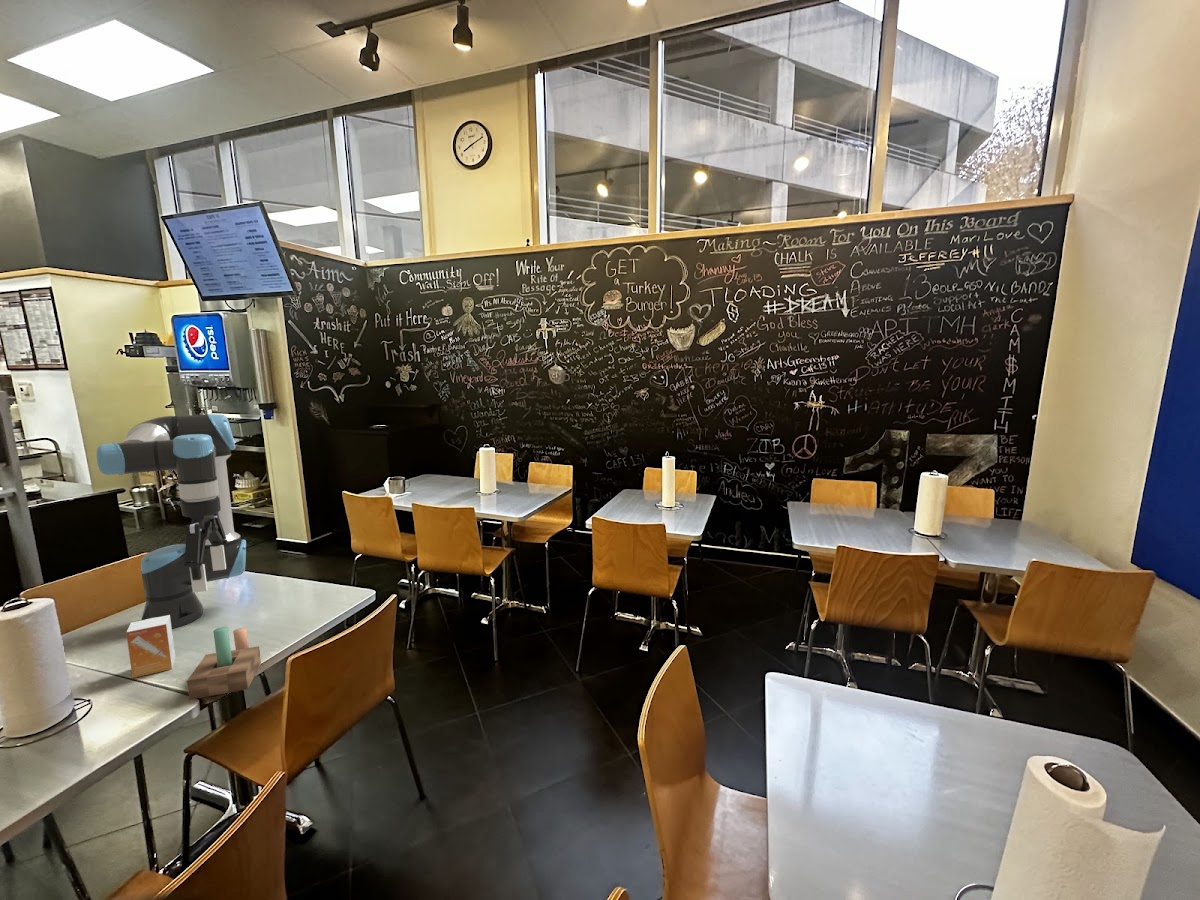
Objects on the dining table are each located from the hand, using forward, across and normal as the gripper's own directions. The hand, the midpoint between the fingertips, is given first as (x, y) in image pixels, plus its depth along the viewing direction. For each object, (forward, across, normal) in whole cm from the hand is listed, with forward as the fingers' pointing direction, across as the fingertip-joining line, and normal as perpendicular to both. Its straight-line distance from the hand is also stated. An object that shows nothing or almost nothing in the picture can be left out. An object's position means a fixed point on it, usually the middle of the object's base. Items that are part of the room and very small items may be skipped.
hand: (210, 580), depth 127 cm
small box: (+27, -11, -18) cm, 34 cm away
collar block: (+27, +2, +2) cm, 27 cm away
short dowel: (+27, -11, +2) cm, 29 cm away
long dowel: (+27, +2, +2) cm, 27 cm away
